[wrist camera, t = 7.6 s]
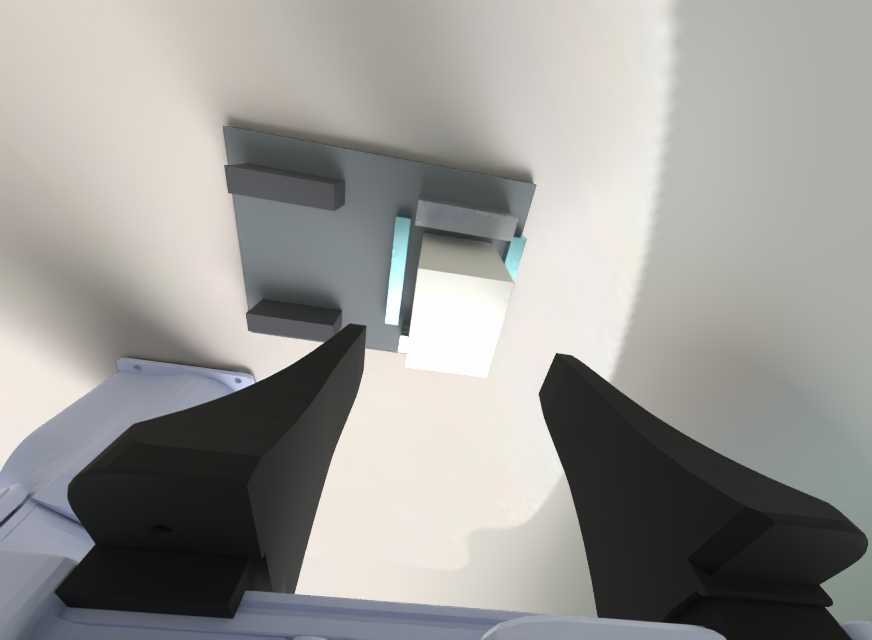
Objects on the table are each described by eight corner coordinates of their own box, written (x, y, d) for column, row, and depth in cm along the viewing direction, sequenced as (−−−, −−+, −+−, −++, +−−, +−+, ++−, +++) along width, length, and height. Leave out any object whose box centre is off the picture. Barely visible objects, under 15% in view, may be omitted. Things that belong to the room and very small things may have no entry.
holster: (264, 315, 20) (248, 331, 19) (247, 163, 16) (224, 165, 14) (341, 326, 21) (332, 342, 19) (345, 180, 16) (334, 184, 15)
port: (385, 332, 21) (380, 349, 19) (400, 190, 17) (395, 195, 15) (489, 347, 22) (493, 365, 20) (529, 214, 17) (539, 221, 15)
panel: (256, 327, 22) (251, 332, 21) (229, 126, 16) (222, 125, 15) (481, 359, 23) (482, 364, 22) (533, 183, 17) (536, 184, 16)
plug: (413, 309, 20) (404, 367, 15) (423, 232, 18) (418, 268, 12) (473, 318, 20) (486, 377, 15) (492, 243, 18) (514, 282, 13)
